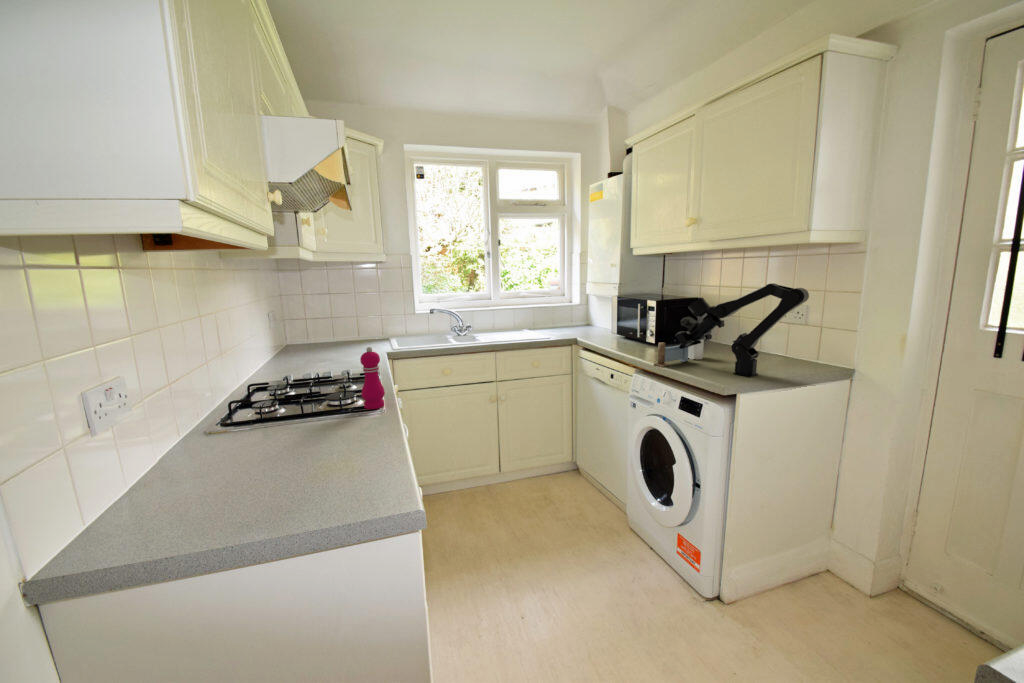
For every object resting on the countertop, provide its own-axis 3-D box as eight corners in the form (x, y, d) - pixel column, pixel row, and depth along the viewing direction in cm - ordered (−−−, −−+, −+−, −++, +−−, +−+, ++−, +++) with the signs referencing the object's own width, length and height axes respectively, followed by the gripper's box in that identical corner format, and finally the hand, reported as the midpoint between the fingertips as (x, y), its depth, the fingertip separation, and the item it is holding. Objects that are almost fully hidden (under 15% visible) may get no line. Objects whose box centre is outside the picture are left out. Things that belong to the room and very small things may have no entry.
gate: (666, 365, 180) (667, 347, 178) (662, 364, 182) (662, 346, 181) (687, 361, 186) (688, 344, 184) (683, 360, 188) (684, 343, 186)
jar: (683, 355, 199) (684, 330, 197) (701, 356, 196) (703, 331, 194) (684, 359, 191) (685, 333, 188) (703, 360, 188) (704, 334, 186)
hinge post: (668, 365, 179) (669, 343, 178) (662, 367, 177) (663, 344, 175) (659, 363, 183) (660, 341, 181) (653, 365, 181) (654, 342, 179)
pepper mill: (373, 411, 132) (368, 349, 128) (358, 408, 135) (352, 348, 132) (390, 404, 138) (385, 345, 134) (375, 401, 141) (369, 344, 138)
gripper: (706, 309, 180) (683, 331, 191) (680, 313, 170) (656, 336, 181) (723, 329, 175) (697, 350, 186) (696, 334, 165) (671, 356, 176)
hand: (681, 348), depth 183 cm, fingers closed
